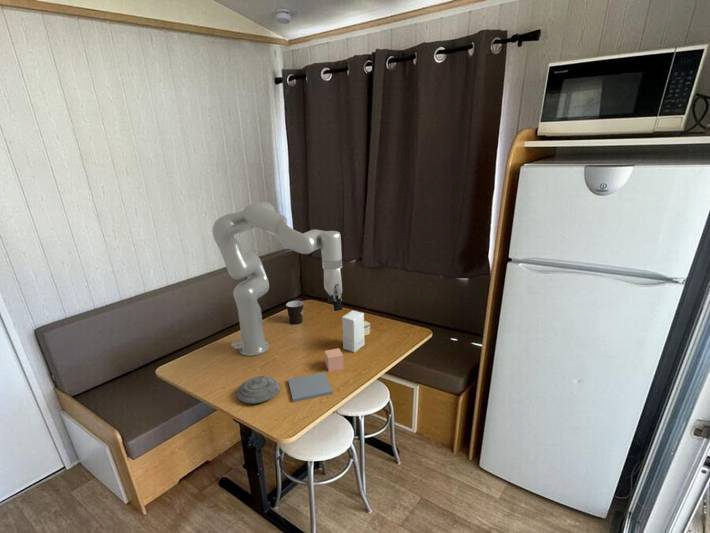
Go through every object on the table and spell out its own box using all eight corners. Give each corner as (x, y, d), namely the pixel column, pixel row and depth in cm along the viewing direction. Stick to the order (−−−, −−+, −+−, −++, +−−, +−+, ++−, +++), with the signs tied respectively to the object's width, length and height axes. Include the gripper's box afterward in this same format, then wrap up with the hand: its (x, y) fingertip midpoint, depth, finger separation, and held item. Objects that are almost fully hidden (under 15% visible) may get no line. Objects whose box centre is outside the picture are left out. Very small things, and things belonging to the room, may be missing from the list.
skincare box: (353, 341, 169) (352, 309, 165) (365, 345, 165) (365, 312, 161) (342, 349, 163) (341, 316, 158) (354, 353, 159) (353, 319, 154)
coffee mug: (296, 326, 186) (295, 308, 183) (284, 323, 190) (282, 305, 188) (311, 318, 195) (310, 300, 192) (299, 315, 200) (297, 297, 197)
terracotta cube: (328, 371, 146) (328, 358, 144) (325, 364, 152) (324, 350, 150) (343, 368, 148) (343, 355, 146) (339, 361, 153) (339, 348, 152)
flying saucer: (254, 378, 144) (253, 365, 142) (288, 386, 138) (286, 373, 136) (227, 401, 130) (225, 387, 129) (263, 411, 125) (261, 396, 123)
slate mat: (293, 402, 128) (292, 399, 128) (288, 381, 140) (288, 379, 140) (332, 393, 132) (332, 391, 132) (324, 374, 144) (324, 372, 144)
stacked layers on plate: (366, 328, 182) (365, 318, 181) (376, 335, 175) (375, 324, 173) (348, 333, 177) (347, 323, 176) (357, 341, 170) (357, 330, 168)
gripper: (317, 259, 148) (320, 300, 153) (328, 271, 133) (331, 315, 137) (335, 257, 151) (337, 297, 155) (348, 268, 135) (350, 312, 140)
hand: (334, 305), depth 146 cm, fingers open, 9 cm apart
